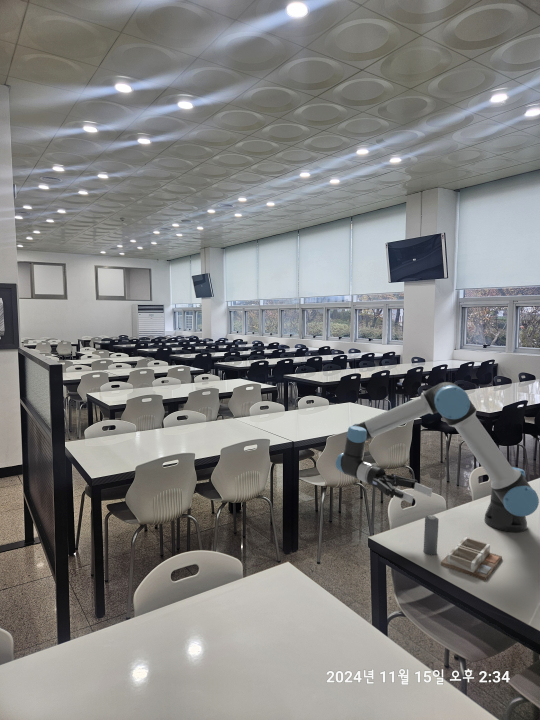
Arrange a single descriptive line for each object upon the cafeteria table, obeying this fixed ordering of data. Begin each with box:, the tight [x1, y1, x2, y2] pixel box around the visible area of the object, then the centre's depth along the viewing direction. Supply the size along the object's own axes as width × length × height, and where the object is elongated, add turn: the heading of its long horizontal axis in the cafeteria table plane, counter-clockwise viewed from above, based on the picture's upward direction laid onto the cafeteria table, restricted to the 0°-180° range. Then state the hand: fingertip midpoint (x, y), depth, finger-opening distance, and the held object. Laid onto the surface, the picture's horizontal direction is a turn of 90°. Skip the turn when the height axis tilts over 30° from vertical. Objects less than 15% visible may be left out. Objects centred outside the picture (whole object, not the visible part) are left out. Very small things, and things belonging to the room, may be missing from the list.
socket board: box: [440, 536, 503, 581], centre depth 156 cm, size 18×14×4 cm
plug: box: [423, 514, 440, 556], centre depth 162 cm, size 4×4×13 cm
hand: (422, 496), depth 165 cm, fingers open, 13 cm apart
